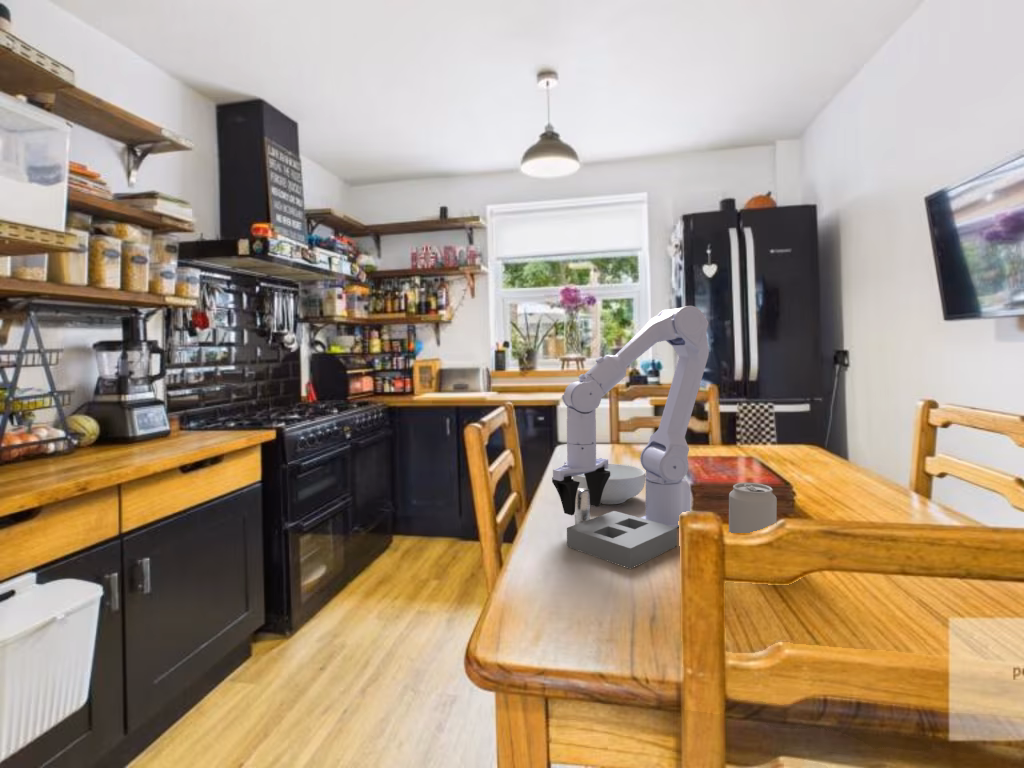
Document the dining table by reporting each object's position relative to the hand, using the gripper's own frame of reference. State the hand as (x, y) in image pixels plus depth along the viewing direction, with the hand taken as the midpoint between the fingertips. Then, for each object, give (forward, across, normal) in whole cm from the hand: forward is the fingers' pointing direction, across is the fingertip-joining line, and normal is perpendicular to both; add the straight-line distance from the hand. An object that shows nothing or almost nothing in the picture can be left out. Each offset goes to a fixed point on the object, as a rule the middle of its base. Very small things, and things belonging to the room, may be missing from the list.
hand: (581, 509), depth 107 cm
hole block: (+4, +2, +11) cm, 12 cm away
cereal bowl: (+4, -20, -9) cm, 22 cm away
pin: (+4, 0, 0) cm, 4 cm away
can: (+4, -11, +29) cm, 31 cm away
